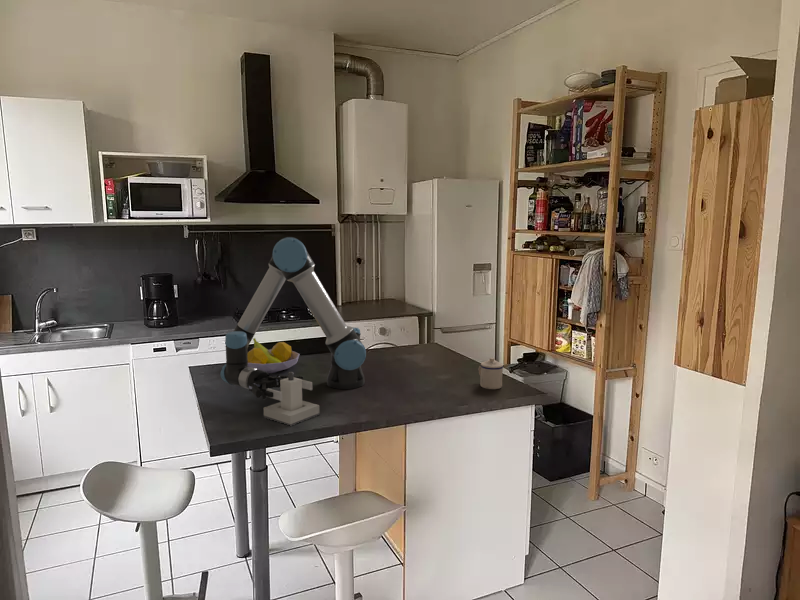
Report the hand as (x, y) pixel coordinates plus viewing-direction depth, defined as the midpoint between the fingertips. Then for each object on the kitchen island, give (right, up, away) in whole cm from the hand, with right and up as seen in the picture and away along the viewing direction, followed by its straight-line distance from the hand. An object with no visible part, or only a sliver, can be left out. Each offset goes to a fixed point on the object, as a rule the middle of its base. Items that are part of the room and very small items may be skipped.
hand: (297, 391), depth 181 cm
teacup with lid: (+70, -4, +40) cm, 81 cm away
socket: (-4, -9, +4) cm, 10 cm away
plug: (-2, -8, +3) cm, 9 cm away
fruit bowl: (-24, 0, +62) cm, 66 cm away
